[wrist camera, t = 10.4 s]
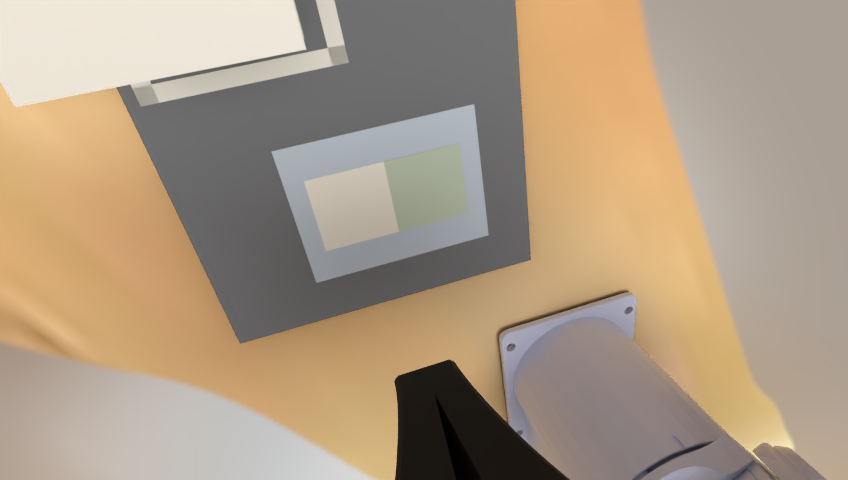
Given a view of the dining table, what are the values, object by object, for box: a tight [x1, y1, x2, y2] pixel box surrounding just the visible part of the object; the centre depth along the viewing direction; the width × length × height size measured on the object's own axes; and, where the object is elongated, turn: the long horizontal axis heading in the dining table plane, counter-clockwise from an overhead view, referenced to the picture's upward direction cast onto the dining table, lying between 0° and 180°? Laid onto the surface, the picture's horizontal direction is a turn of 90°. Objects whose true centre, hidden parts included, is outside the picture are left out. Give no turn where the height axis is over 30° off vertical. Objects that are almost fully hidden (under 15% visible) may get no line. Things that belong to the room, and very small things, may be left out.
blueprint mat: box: [117, 0, 531, 343], centre depth 17 cm, size 20×14×1 cm
